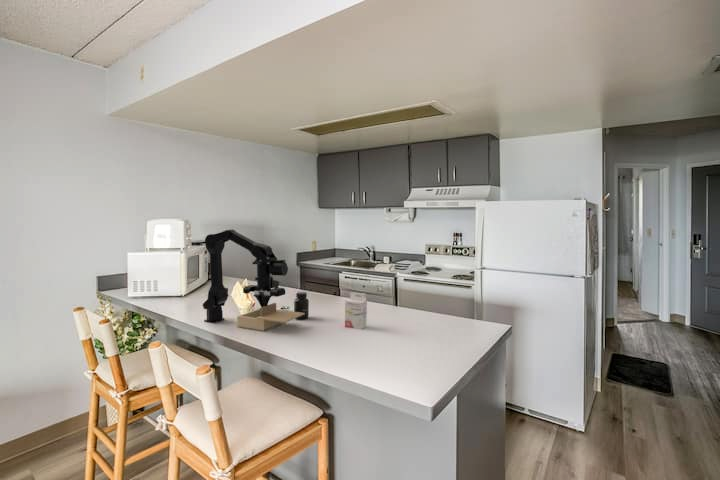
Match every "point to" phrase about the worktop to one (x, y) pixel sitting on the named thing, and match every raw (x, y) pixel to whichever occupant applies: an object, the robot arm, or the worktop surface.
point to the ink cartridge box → (356, 311)
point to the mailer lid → (277, 314)
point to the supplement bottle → (301, 305)
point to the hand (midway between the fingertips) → (264, 310)
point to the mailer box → (255, 321)
